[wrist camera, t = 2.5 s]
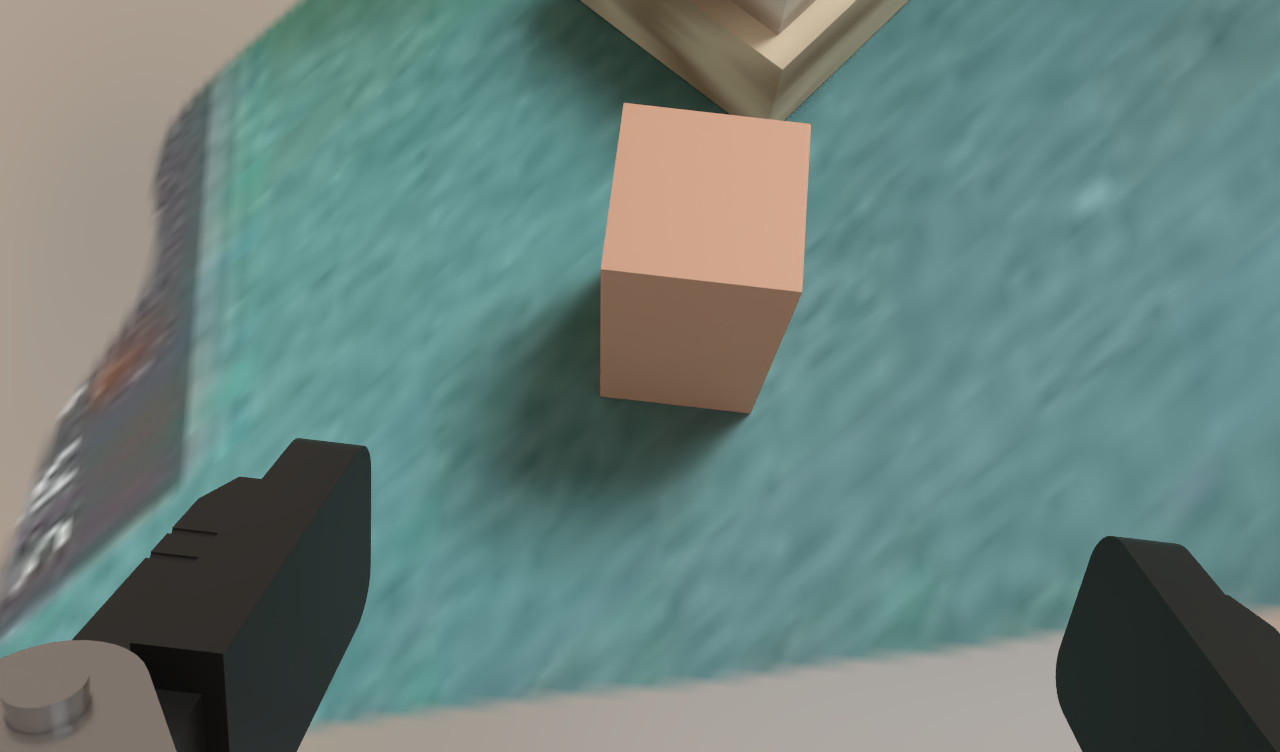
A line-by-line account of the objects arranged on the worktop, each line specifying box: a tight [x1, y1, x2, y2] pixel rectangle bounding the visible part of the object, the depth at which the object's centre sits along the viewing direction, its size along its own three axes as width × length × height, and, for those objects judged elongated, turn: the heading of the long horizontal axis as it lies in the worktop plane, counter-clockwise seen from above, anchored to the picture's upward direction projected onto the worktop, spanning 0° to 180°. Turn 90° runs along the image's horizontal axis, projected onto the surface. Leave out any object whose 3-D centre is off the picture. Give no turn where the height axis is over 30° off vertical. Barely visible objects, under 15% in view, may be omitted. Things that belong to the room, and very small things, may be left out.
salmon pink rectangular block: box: [600, 103, 811, 414], centre depth 30 cm, size 5×5×9 cm
